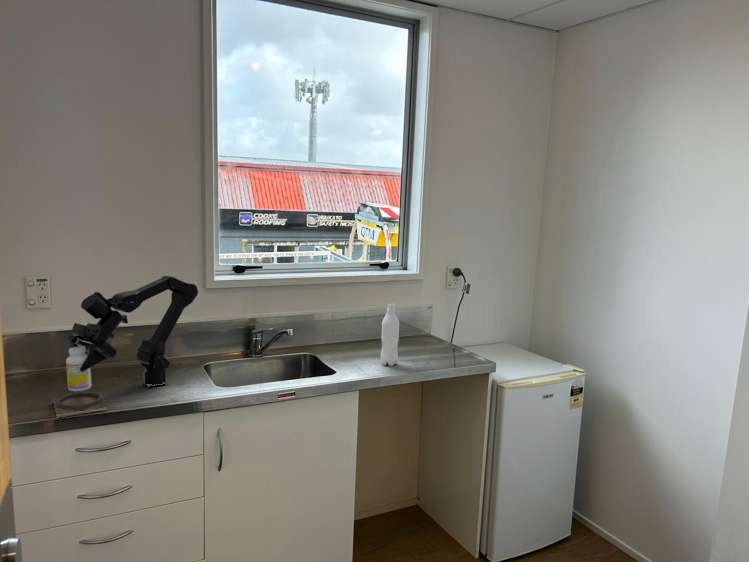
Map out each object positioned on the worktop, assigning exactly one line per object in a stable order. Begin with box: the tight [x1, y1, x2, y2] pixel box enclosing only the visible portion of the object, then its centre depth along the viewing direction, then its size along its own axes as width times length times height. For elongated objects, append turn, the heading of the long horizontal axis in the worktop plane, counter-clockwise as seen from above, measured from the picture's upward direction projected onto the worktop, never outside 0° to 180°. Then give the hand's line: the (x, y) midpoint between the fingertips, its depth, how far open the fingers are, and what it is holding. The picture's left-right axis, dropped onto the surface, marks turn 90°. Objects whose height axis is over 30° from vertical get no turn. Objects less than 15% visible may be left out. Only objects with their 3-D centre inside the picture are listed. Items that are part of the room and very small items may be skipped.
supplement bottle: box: [65, 347, 93, 392], centre depth 180 cm, size 7×7×13 cm
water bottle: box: [380, 302, 400, 367], centre depth 237 cm, size 7×7×25 cm
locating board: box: [52, 391, 109, 414], centre depth 182 cm, size 14×14×3 cm
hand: (74, 368), depth 179 cm, fingers closed on supplement bottle, 7 cm apart
